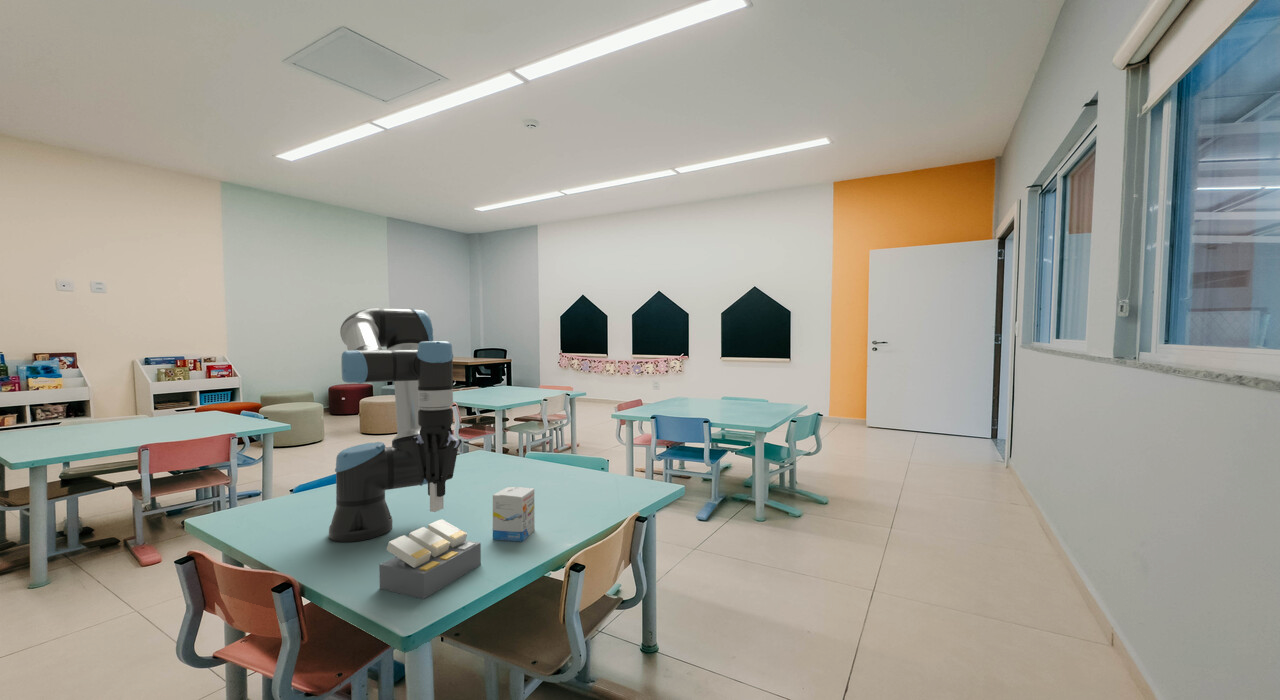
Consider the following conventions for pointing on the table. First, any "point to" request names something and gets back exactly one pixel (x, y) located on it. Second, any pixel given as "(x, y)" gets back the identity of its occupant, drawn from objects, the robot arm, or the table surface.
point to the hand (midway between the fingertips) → (436, 509)
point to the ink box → (513, 514)
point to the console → (430, 571)
